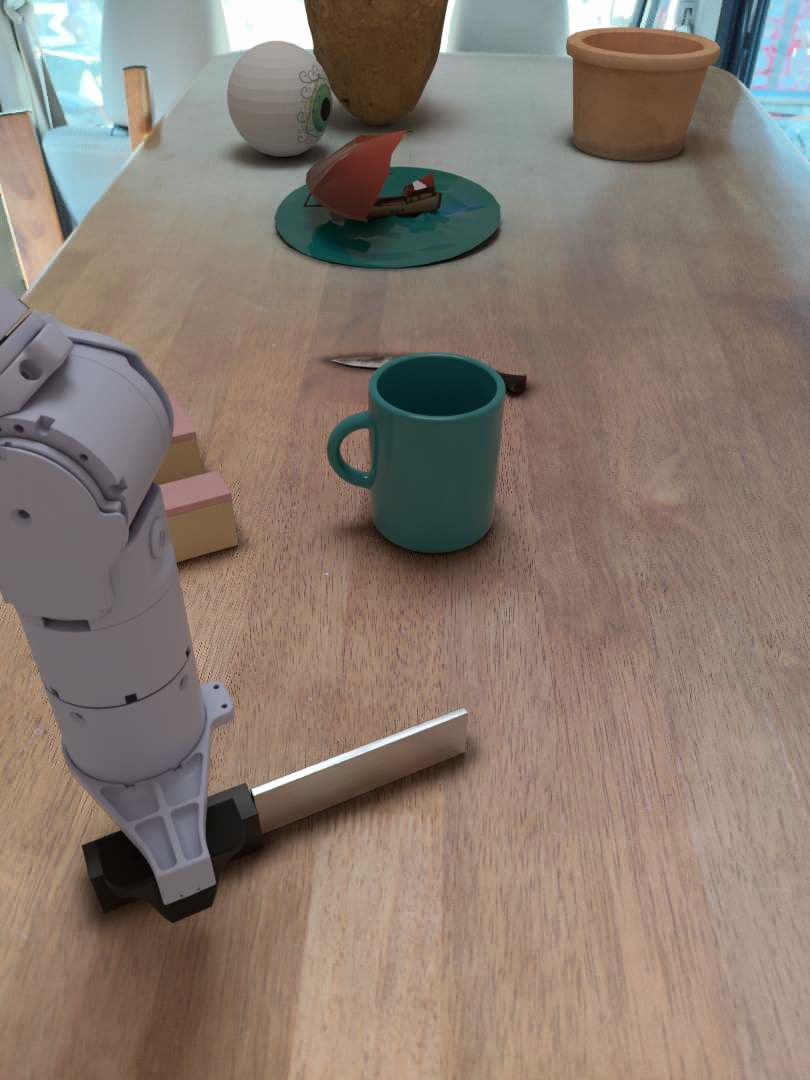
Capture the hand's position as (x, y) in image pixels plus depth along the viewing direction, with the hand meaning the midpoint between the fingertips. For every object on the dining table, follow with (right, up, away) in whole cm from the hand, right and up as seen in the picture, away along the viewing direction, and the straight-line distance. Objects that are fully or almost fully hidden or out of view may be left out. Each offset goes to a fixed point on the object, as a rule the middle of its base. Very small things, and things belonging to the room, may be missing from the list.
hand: (170, 847), depth 43 cm
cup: (+12, +16, +23) cm, 31 cm away
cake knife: (+6, 0, +3) cm, 6 cm away
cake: (-10, +20, +27) cm, 35 cm away
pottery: (+46, +76, +96) cm, 131 cm away
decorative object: (-7, +72, +91) cm, 116 cm away
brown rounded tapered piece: (+7, +83, +104) cm, 133 cm away
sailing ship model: (+9, +54, +69) cm, 89 cm away
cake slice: (-5, +14, +20) cm, 25 cm away
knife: (+13, +30, +40) cm, 52 cm away
